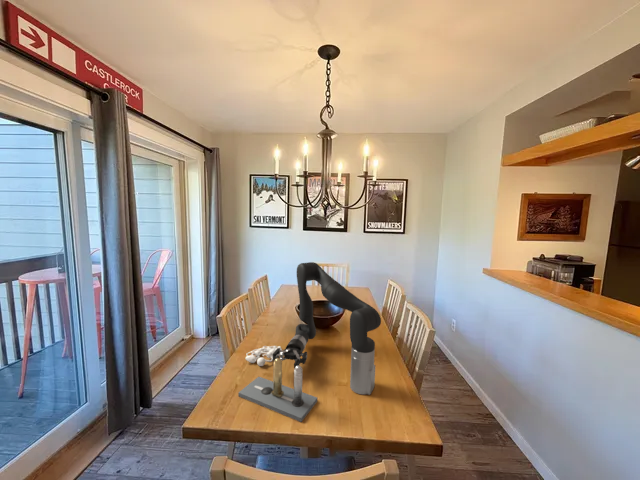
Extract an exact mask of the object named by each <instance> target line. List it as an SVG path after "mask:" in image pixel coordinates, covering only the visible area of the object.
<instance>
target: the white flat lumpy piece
mask: <svg viewBox="0 0 640 480" xmlns="http://www.w3.org/2000/svg"><path fill="white" fill-rule="evenodd" d="M278 348H280V350H283V349H282V347H281V345H279V346H277V345H271V346H267V345H263V346H262V347H261V348H255V349H252V350H251V351H249V352H246V356H245V358H244V359H245V361H247V362H249V363H251V364H254V363H257V366H258V367H263V366H264V365H265V364H266V363H267V362H268V363H270V362H273V353H274V352H275V351H276V350H277V349H278ZM250 353H251V354H250ZM248 354H250V355H248ZM261 355H262V357H261ZM265 356H266V357H267V359H266V358H264V357H265Z"/></svg>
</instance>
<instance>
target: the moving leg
mask: <svg viewBox="0 0 640 480" xmlns="http://www.w3.org/2000/svg"><path fill="white" fill-rule="evenodd" d="M272 362H273V361H272ZM272 364H273V370H272V371H273V377H272V378H273V380H272V381H273V391H272V392H271V394H272V395H275V396H277V397H281V396H282V395H283V394H284V391H282V385H283V361H282V360H281V359H280V357H279V358H276V359H275V361H274V362H273V363H272Z"/></svg>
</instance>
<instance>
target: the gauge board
mask: <svg viewBox="0 0 640 480" xmlns="http://www.w3.org/2000/svg"><path fill="white" fill-rule="evenodd" d="M272 391H273V380H270V379H267V378H263V377H261V376H257V377H256V378H255V379H253V380H252V381H250V382H249V384H247V385H246V386H244V388H242V389H241V390H240V391H238V395H237V396H238V397H239V398H241V399H244V400H246V401H248V402H251V403H254V404H256V405H258V406H261V407H264V408H265V409H269V410H270V411H273V412H276V413H278V414H281V415H283V416H285V417H287V418H290V419H293V420H295V421H297V422H300V423H302V422H303V420H304V419H305V418H306V417H307V415H308V414H309V413H310V412H311V411H312V409H313V407H314V406H315V405H316V404H317V402H318V400H319V399H318V397H317V396H314V395H312V394H308V393H306V392H303V391H302V404H301V405H295V404H294V388H292V387H289V386H287V385H283V384H282V391H284V394H283V395H282V396H281V397H277V396H275V395H272V394H271V392H272Z"/></svg>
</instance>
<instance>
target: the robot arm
mask: <svg viewBox="0 0 640 480" xmlns="http://www.w3.org/2000/svg"><path fill="white" fill-rule="evenodd" d="M310 281H315V282H317V283H318V284H319V285H320V289H321V295H322V296H323V298H325V299H326V300H327V301H328V302H329V303H331V304H332V305H333V306H335V307H337V308H340V309H342V310H346V311H347V312H348V311H349V312H351V314H350V317H349V337H350V338H349V339H350V342H351V351H350V352H351V353H350V357H351V358H350V380H349V382H350V385H349V386H350V390H351V391H353V392H354V393H355V394H358V395H368V396H369V395H370V396H371V394H372V392H373V390H374V388H375V382H376V381H375V379H376V364H375V354H376V353H375V352H376V351H375V349H376V343H375V340H374V339H373V338H371V337H369V336H368V332H371V331H374V330H376V329H378V328H379V327H380V326H381V324H382V323H381V322H382V319H381V315H380V313H379V312H378V311H377V309H376V308H374V307H373V306H372V305H371V304H368V303H367V302H365V301H363V300H361V298H359V297H357V296H356V295H355V294H354V293H352V292H351V291H349V289H347V288H346V287H344V286H343V285H342V284H341V283H339V282H338V281H336V280H335V279H334V278H333V277H332V276H331V275H329V274H328V273H327V272H326V271H325V270H324V269H323V268H322V267H321V266H320V265H319V264H318V263H317V262H313V261H310V262H301V263H299V264H298V265H297V267H296V282H297V283H296V284H297V289H298V296H299V297H298V298H299V311H298V312H299V313H298V314H299V315H298V316H299V317H298V318H299V320H300V321H301V322H304V323H299V324H297V325H296V327H295V334H294V336H293V337H292V338H291V339H290V340H289V342H288V344H287V345H286V346H285V348H284V349H282V350H280V348H278V347H277V348H278V349H277V350H276V351H275V352H274V353H273V360H272V362H274V361H275V359H276V358H280V359H281V360H282V362H283V361H285V360H291V361H294V363H293V369H295V367H296V366H298V365H299V366H300V365H301V364H302V365H305V364H306V362H307V360H308V351H304V350H305V348H306V347H307V346H306V345H307V344H308V342H309V340H314V338H315V337H316V335H317V329H316V325H315V322H314V302H313V300H312V298H311V296H310V293H309V292H308V290H307V282H310ZM301 357H302V358H301Z"/></svg>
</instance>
